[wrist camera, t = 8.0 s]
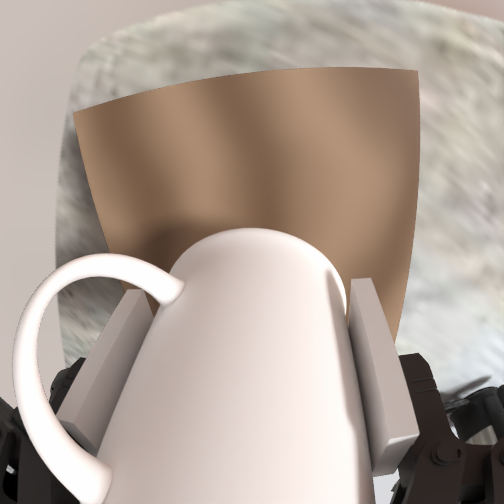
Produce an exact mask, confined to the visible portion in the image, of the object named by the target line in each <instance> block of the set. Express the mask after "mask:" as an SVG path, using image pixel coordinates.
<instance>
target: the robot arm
mask: <svg viewBox="0 0 504 504" xmlns="http://www.w3.org/2000/svg"><path fill="white" fill-rule="evenodd" d="M153 320H154V317H153V314H152V311H151V309H150V306H149V303H148V301H147V298H146V295H145V292H144V290H143V289H128V290H127V291H126V293H125V295H124V296H123V298H122V299H121V301H120V303H119V304H118V306H117V307H116V309H115V311H114V312H113V314H112V316H111V317H110V319H109V320H108V322H107V324H106V325H105V327H104V329H103V331H102V332H101V334H100V336H99V337H98V339H97V341H96V342H95V344H94V346H93V348H92V349H91V351H90V353H89V355H88V356H87V358H82V357H80V358H79V359H78V360H77V361H76V362H75V363H74V364H73V365H72V366H71V367H70V369H64V370H61V371H60V372H59V373H58V374H57V376H56V377H55V379H54V381H53V383H52V385H51V391H50V392H51V396H50V400H49V404H50V406H51V408H52V410H53V412H54V414H55V416H56V417H57V419H58V421H59V422H60V424H61V425H62V427H63V428H64V429H65V431H66V432H67V433H68V435H69V436H70V437H71V438H72V439H73V440H74V441H75V442H76V443H77V444H78V445H79V446H80V447H81V448H82V449H84V450H85V451H86V452H88V453H89V454H91V455H92V456H94V457H95V458H96V457H97V454H98V451H99V449H100V446H101V443H102V441H103V438H104V436H105V433H106V430H107V428H108V425H109V423H110V420H111V418H112V415H113V413H114V410H115V408H116V405H117V403H118V400H119V398H120V396H121V393H122V391H123V388H124V386H125V384H126V381H127V379H128V376H129V374H130V372H131V369H132V367H133V365H134V362H135V360H136V358H137V356H138V353H139V351H140V349H141V347H142V344H143V342H144V340H145V338H146V335H147V333H148V331H149V329H150V326H151V324H152V322H153ZM348 332H349V337H350V342H351V347H352V352H353V357H354V362H355V367H356V372H357V378H358V383H359V389H360V394H361V400H362V406H363V412H364V418H365V424H366V431H367V438H368V445H369V452H370V459H371V467H372V475H373V477H377V476H383V475H389V474H393V473H394V472H395V471H396V470H397V468H398V471H399V476H400V479H399V480H398V481H397V483H396V484H395V485H394V487H393V489H392V490H391V491H393V492H394V494H393V496H392V499H391V502H390V504H504V437H503V438H500V439H499V440H498V441H497V442H496V443H495V444H494V445H478V444H468V443H465V442H463V441H461V440H460V439H458V438H457V437H456V436H455V435H454V434H453V432H452V430H451V428H450V425H449V422H448V419H447V416H446V413H445V409H444V406H443V403H442V400H441V397H440V394H439V391H438V390H437V386H436V383H435V380H434V379H433V374H432V372H431V369H430V366H429V364H428V363H427V361H426V360H425V359H424V358H423V357H422V356H421V355H420V354H419V353H414V354H407V355H400V356H398V354H397V351H396V348H395V345H394V342H393V339H392V336H391V333H390V330H389V327H388V324H387V321H386V318H385V315H384V312H383V309H382V307H381V304H380V301H379V298H378V296H377V293H376V290H375V287H374V285H373V282H372V279H371V278H361V279H351V293H350V307H349V319H348ZM0 504H80V501H79V500H78V499H77V498H76V497H75V496H74V495H73V494H72V493H71V492H70V491H69V490H68V489H67V488H66V487H65V486H64V485H63V484H62V483H61V482H60V481H59V480H58V479H57V478H56V476H55V475H54V474H53V473H52V472H51V470H50V469H49V468H48V467H47V465H46V464H45V463H44V461H43V460H42V458H41V457H40V455H39V454H38V452H37V450H36V449H35V447H34V445H33V443H32V441H31V440H30V438H29V435H28V433H27V431H26V429H25V426H24V424H23V421H22V418H21V415H20V412H19V409H18V406H17V407H16V408H15V409H13V408H12V407H11V406H10V405H9V404H7V403H6V402H5V401H4V400H3V399H2V398H1V397H0Z"/></svg>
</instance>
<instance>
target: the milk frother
mask: <svg viewBox="0 0 504 504" xmlns="http://www.w3.org/2000/svg"><path fill="white" fill-rule="evenodd" d="M443 406H444V409H445V413H446V414H448V413H450V412H452V411H453V412H452V414H451V417H450V419H451V421H452V422H453V423H454V426H455V429H456V431H457V434H458V437H459V439H460V440H461V441H463V442H465V443H468V444H478V445H494V444H495V443H496V442H497V441H498V440H499V439H500V438H503V437H504V385H501V386H499V388H497V387H491V388H486V389H483V390H481V391H478V392H477V393H474V394H473V395H471V396H469V397H468V398H466V399H460V400H456V401H453V402H450V403H447V404H444V405H443Z"/></svg>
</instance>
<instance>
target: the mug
mask: <svg viewBox="0 0 504 504" xmlns="http://www.w3.org/2000/svg"><path fill="white" fill-rule="evenodd" d="M97 276H101V277H111V278H116V279H120V280H123V281H126V282H129V283H131V284H133V285H136V286H138V287H140V288H141V289H143V290H145V291H146V292H148V293H149V294H150V295H152V296H153V297H154V298H155V299H156V300H157V301H158V302H159V303H160V307H159V309H158V311H157V313H156V316H155V318H154V320H153V322H152V324H151V326H150V329H149V331H148V333H147V335H146V338H145V340H144V342H143V344H142V347H141V349H140V351H139V353H138V356H137V358H136V360H135V362H134V365H133V367H132V369H131V372H130V374H129V376H128V379H127V381H126V384H125V386H124V388H123V391H122V393H121V396H120V398H119V400H118V403H117V405H116V408H115V410H114V413H113V415H112V418H111V420H110V423H109V425H108V428H107V430H106V433H105V436H104V438H103V441H102V443H101V446H100V449H99V451H98V454H97V457H96V458H95V457H94V456H92V455H91V454H89V453H88V452H86V451H85V450H84V449H82V448H81V447H80V446H79V445H78V444H77V443H76V442H75V441H74V440H73V439H72V438H71V437H70V436H69V435H68V433H67V432H66V431H65V429H64V428H63V427H62V425H61V424H60V422H59V421H58V419H57V417H56V416H55V414H54V412H53V410H52V408H51V406H50V404H49V402H48V399H47V397H46V394H45V392H44V389H43V385H42V382H41V378H40V373H39V367H38V357H37V342H38V333H39V328H40V324H41V320H42V317H43V314H44V312H45V310H46V308H47V306H48V304H49V303H50V301H51V300H52V298H53V297H54V296H55V295H56V294H57V293H58V292H59V291H60V290H61V289H62V288H63V287H65V286H66V285H68V284H70V283H72V282H74V281H76V280H79V279H82V278H87V277H97ZM345 315H346V294H345V289H344V286H343V283H342V280H341V278H340V276H339V274H338V272H337V271H336V269H335V267H334V266H333V265H332V263H331V262H330V261H329V260H328V259H327V258H326V257H325V256H324V255H323V254H322V253H321V252H320V251H319V250H317V249H316V248H315V247H313V246H312V245H310V244H309V243H307V242H305V241H303V240H301V239H299V238H297V237H295V236H292V235H290V234H287V233H283V232H280V231H276V230H270V229H263V228H239V229H232V230H227V231H222V232H219V233H216V234H213V235H211V236H208V237H206V238H204V239H202V240H200V241H198V242H197V243H195V244H194V245H192V246H191V247H190V248H188V249H187V250H186V251H185V252H184V253H183V254H182V255H181V256H180V257H179V259H178V260H177V261H176V262H175V264H174V265H173V267H172V269H171V271H170V273H169V274H168V273H167V272H165V271H163V270H162V269H160V268H158V267H156V266H154V265H152V264H150V263H148V262H145V261H143V260H140V259H137V258H134V257H131V256H126V255H121V254H113V253H100V254H92V255H87V256H83V257H80V258H77V259H74V260H72V261H70V262H68V263H66V264H64V265H62V266H61V267H59V268H58V269H56V270H55V271H54V272H52V273H51V274H50V275H49V276H48V277H47V278H46V279H45V280H44V281H43V282H42V283H41V284H40V285H39V286H38V288H37V289H36V290H35V292H34V293H33V294H32V296H31V298H30V299H29V301H28V303H27V305H26V306H25V308H24V311H23V313H22V315H21V318H20V321H19V323H18V327H17V330H16V335H15V339H14V346H13V357H12V375H13V384H14V391H15V397H16V401H17V405H18V409H19V412H20V415H21V418H22V421H23V424H24V426H25V429H26V431H27V433H28V435H29V438H30V440H31V441H32V443H33V445H34V447H35V449H36V450H37V452H38V454H39V455H40V457H41V458H42V460H43V461H44V463H45V464H46V465H47V467H48V468H49V469H50V470H51V472H52V473H53V474H54V475H55V476H56V478H57V479H58V480H59V481H60V482H61V483H62V484H63V485H64V486H65V487H66V488H67V489H68V490H69V491H70V492H71V493H72V494H73V495H74V496H75V497H76V498H77V499H78V500H79V501H80V504H376V503H375V494H374V484H373V475H372V467H371V459H370V452H369V445H368V438H367V431H366V424H365V418H364V412H363V406H362V400H361V394H360V389H359V383H358V378H357V372H356V367H355V362H354V357H353V352H352V347H351V342H350V337H349V332H348V327H347V322H346V316H345Z"/></svg>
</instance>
